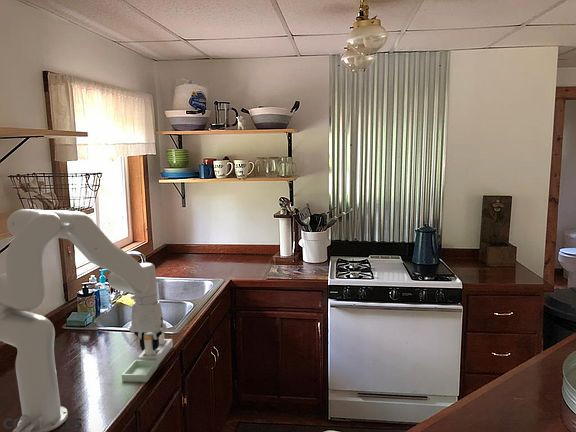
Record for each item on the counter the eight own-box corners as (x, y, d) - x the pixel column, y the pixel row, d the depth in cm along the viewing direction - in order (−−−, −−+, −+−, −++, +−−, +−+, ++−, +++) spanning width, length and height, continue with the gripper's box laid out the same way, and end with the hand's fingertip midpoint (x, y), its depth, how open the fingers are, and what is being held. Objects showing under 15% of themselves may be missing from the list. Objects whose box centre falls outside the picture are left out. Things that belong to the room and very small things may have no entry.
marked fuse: (153, 360, 162) (151, 336, 161) (143, 360, 162) (141, 336, 161) (157, 356, 166) (155, 332, 164) (147, 355, 166) (145, 332, 165)
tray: (146, 382, 150) (145, 375, 150) (122, 381, 151) (121, 374, 150) (158, 366, 160) (157, 360, 160) (135, 366, 161) (135, 359, 160)
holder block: (157, 365, 161) (157, 357, 160) (138, 365, 162) (137, 357, 161) (172, 346, 176) (172, 339, 175) (155, 346, 176) (154, 338, 176)
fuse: (163, 352, 171) (161, 329, 169) (153, 352, 171) (151, 329, 169) (167, 348, 174) (165, 325, 173) (157, 348, 175) (155, 325, 173)
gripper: (118, 302, 158) (122, 353, 161) (165, 302, 156) (168, 354, 159) (128, 295, 165) (132, 343, 168) (173, 295, 164) (176, 344, 166)
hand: (149, 348), depth 164 cm, fingers closed on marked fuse, 3 cm apart
